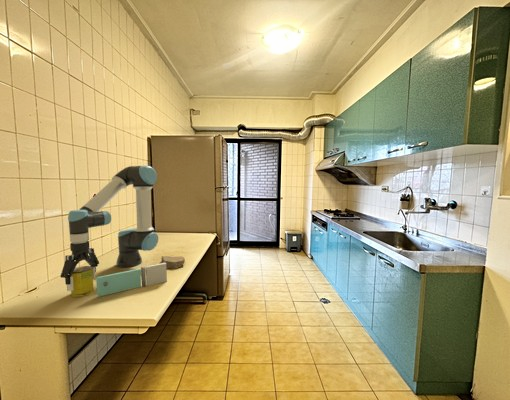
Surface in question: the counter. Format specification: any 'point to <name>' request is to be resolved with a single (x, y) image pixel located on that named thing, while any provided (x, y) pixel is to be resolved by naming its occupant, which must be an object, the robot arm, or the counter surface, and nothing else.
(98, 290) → the door
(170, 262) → the stone
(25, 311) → the counter surface
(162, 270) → the wall
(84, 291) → the beverage can
